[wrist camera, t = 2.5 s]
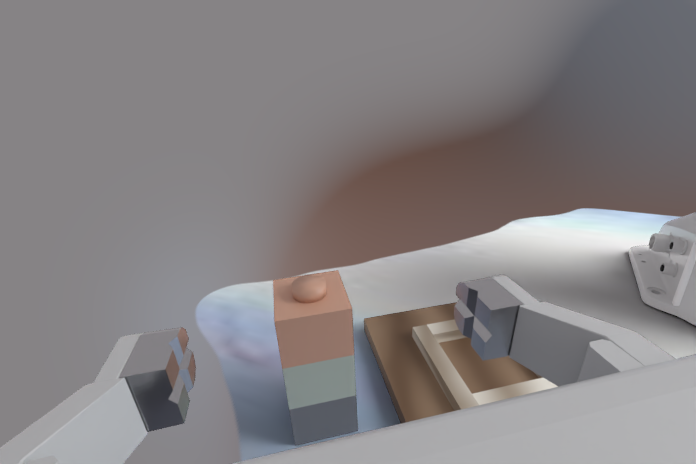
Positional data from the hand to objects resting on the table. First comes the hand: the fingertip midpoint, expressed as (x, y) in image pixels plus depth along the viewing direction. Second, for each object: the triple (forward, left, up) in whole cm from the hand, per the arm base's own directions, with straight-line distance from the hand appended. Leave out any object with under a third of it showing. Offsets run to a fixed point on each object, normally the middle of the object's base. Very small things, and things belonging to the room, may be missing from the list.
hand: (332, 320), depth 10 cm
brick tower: (-10, -6, -19) cm, 23 cm away
